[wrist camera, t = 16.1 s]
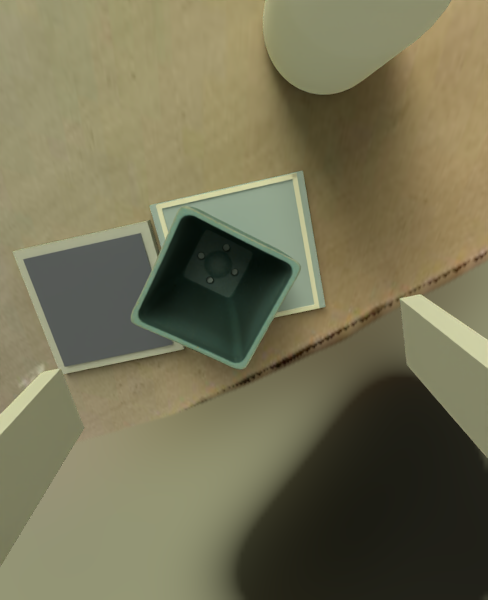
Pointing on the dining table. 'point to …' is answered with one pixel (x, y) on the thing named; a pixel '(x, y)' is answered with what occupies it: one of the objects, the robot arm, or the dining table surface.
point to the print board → (263, 227)
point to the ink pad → (93, 296)
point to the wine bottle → (341, 38)
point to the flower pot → (214, 288)
